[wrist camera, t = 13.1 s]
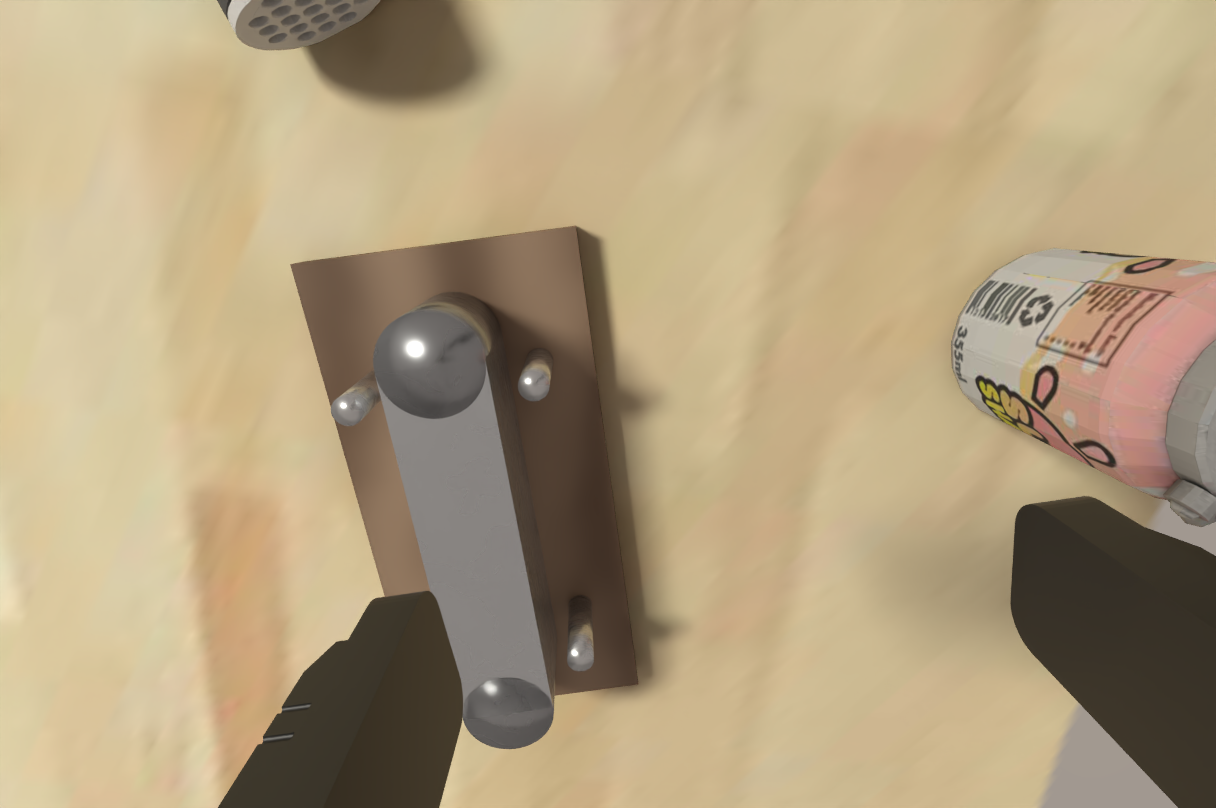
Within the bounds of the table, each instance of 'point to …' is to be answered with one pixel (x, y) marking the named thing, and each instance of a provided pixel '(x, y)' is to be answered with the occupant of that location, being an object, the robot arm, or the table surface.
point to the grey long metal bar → (472, 510)
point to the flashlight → (292, 20)
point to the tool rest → (546, 410)
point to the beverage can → (1103, 365)
